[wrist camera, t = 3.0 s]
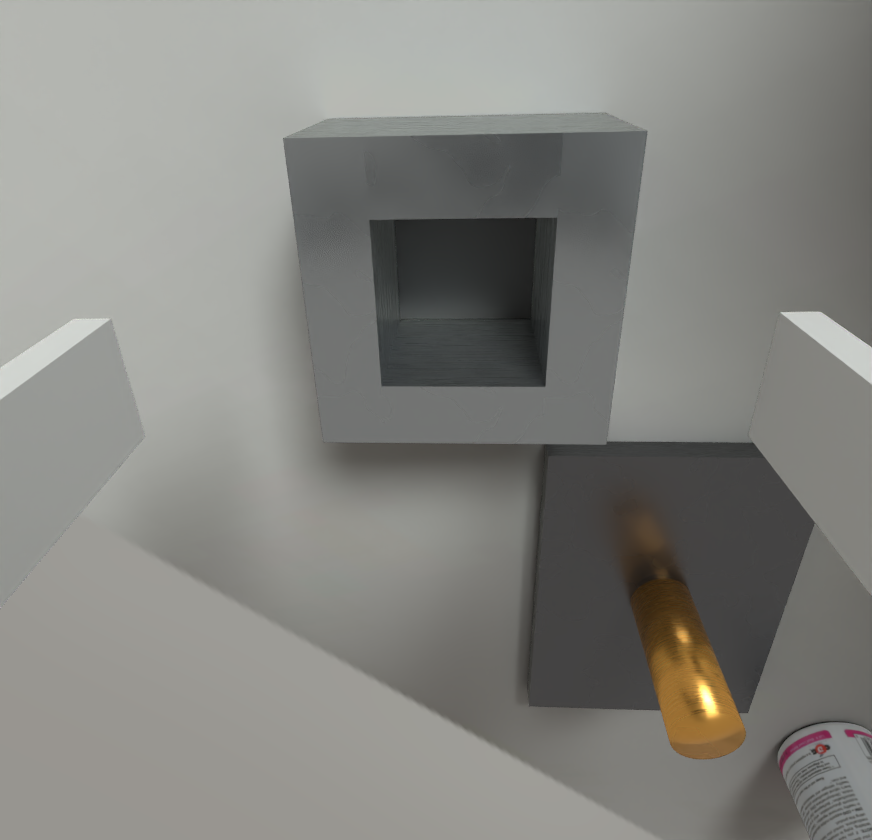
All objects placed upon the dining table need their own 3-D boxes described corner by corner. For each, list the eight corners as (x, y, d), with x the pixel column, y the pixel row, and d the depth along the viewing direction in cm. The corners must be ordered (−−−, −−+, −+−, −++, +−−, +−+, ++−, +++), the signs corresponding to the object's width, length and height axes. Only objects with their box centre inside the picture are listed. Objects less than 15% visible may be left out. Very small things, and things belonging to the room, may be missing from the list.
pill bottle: (773, 780, 33) (858, 983, 26) (775, 723, 31) (868, 929, 24) (871, 771, 32) (987, 979, 25) (881, 713, 30) (1011, 923, 23)
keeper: (545, 441, 24) (570, 575, 17) (823, 443, 23) (948, 582, 17) (527, 687, 30) (540, 844, 24) (739, 694, 30) (807, 856, 24)
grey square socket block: (327, 118, 18) (282, 138, 14) (605, 113, 18) (647, 131, 14) (352, 367, 22) (323, 442, 18) (580, 367, 22) (606, 444, 18)
